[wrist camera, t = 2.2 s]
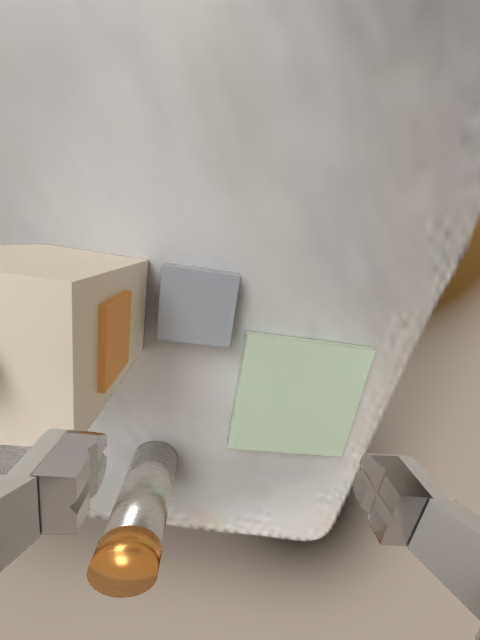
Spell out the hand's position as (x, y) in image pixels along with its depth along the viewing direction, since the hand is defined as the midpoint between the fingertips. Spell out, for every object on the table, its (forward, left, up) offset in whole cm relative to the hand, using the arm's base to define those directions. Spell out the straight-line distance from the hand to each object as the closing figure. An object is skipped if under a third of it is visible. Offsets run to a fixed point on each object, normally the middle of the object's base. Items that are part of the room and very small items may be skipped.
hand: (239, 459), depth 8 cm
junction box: (-11, 0, -16) cm, 19 cm away
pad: (+8, -7, -16) cm, 19 cm away
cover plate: (-2, +1, -16) cm, 17 cm away
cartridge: (-5, -16, -16) cm, 23 cm away
